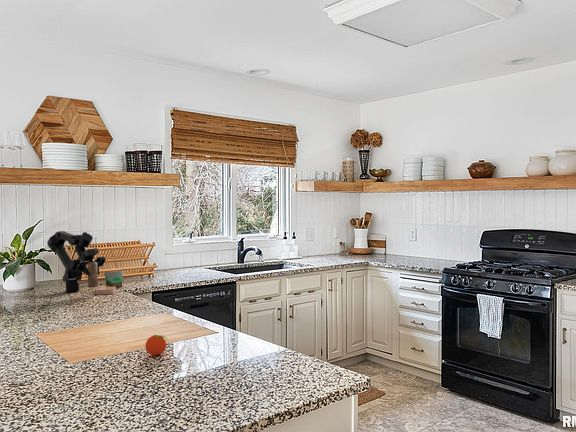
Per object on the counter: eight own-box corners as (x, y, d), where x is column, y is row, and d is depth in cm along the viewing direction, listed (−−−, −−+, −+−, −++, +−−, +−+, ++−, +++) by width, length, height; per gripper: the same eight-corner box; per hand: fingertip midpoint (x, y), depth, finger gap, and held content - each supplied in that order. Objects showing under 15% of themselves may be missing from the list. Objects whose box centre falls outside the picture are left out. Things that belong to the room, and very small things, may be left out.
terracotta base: (96, 294, 278) (96, 290, 278) (99, 291, 287) (99, 287, 287) (113, 293, 279) (112, 289, 279) (116, 290, 288) (115, 286, 288)
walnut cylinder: (87, 287, 270) (86, 263, 269) (89, 286, 275) (88, 262, 274) (96, 287, 271) (96, 263, 270) (98, 285, 276) (98, 262, 275)
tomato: (171, 351, 176) (170, 331, 176) (167, 358, 169) (166, 337, 169) (148, 352, 176) (147, 332, 175) (143, 358, 169) (142, 337, 168)
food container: (110, 290, 291) (109, 272, 291) (104, 288, 295) (103, 271, 294) (128, 286, 301) (128, 270, 301) (122, 285, 305) (122, 269, 304)
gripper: (71, 244, 267) (82, 267, 261) (103, 242, 281) (115, 263, 275) (64, 258, 273) (75, 280, 266) (96, 255, 287) (107, 276, 280)
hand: (94, 274), depth 272 cm, fingers closed on walnut cylinder, 5 cm apart
